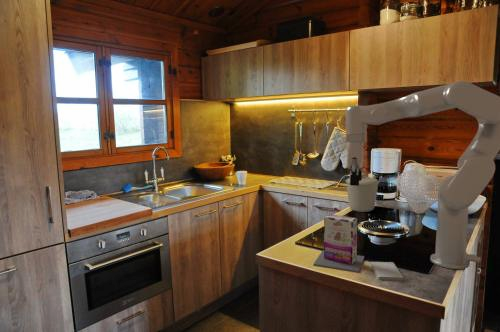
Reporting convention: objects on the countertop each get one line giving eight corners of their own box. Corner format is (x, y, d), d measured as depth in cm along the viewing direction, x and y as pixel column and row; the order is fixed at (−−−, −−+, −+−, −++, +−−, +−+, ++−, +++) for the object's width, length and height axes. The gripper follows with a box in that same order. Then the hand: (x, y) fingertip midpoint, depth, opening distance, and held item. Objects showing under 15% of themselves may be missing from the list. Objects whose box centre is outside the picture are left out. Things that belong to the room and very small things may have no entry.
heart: (449, 220, 183) (451, 176, 179) (421, 222, 180) (423, 178, 177) (415, 206, 210) (417, 168, 207) (390, 207, 208) (391, 169, 204)
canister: (365, 204, 217) (366, 169, 214) (385, 212, 200) (386, 174, 197) (338, 207, 211) (339, 171, 208) (357, 215, 194) (358, 176, 191)
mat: (364, 257, 139) (364, 256, 139) (358, 272, 127) (358, 270, 127) (322, 251, 146) (322, 250, 146) (313, 265, 133) (313, 263, 133)
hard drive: (404, 277, 120) (393, 262, 132) (378, 276, 121) (370, 261, 133) (403, 282, 120) (393, 266, 132) (378, 281, 121) (370, 265, 133)
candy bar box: (357, 260, 135) (358, 217, 132) (352, 265, 131) (353, 221, 128) (329, 254, 142) (329, 213, 139) (323, 258, 138) (323, 216, 135)
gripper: (348, 137, 148) (349, 178, 150) (342, 140, 132) (342, 187, 135) (368, 136, 145) (368, 179, 148) (364, 140, 129) (364, 187, 132)
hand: (356, 182), depth 141 cm, fingers open, 9 cm apart
